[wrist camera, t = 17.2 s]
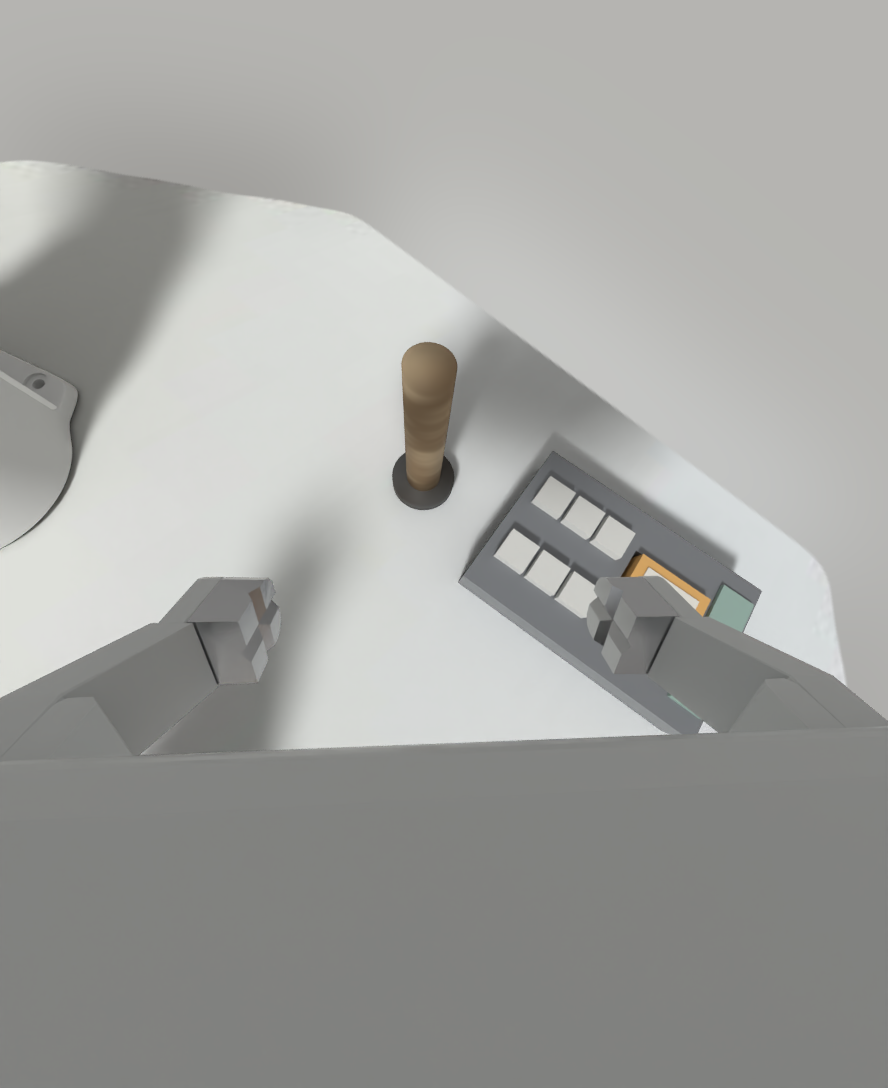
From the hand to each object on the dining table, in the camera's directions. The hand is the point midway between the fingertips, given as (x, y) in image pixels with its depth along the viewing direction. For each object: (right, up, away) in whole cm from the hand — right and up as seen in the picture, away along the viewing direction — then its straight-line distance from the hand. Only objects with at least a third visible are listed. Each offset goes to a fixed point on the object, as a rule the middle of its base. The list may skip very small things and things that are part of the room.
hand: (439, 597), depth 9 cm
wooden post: (-2, +6, +20) cm, 21 cm away
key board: (+12, -2, +19) cm, 23 cm away
